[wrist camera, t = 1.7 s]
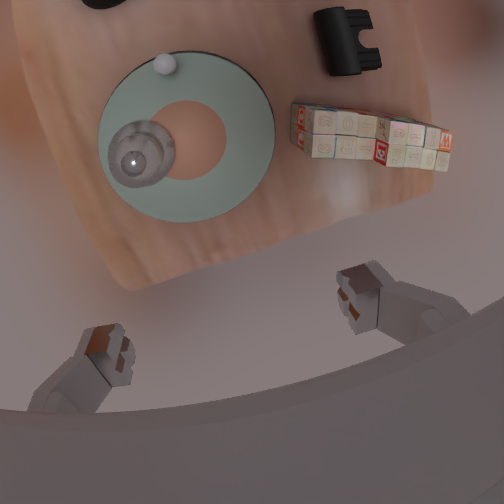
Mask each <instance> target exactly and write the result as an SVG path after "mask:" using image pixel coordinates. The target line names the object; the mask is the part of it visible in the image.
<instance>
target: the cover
mask: <svg viewBox="0 0 504 504" xmlns="http://www.w3.org/2000/svg"><path fill="white" fill-rule="evenodd" d="M174 156H175V147H174V143H173V140H172V138H171V136H170V134H169V133H168V131H167V130H166V129H165V128H164V127H162V126H161V125H159V124H157V123H155V122H152V121H148V120H139V121H134V122H131V123H129V124H127V125H125V126H124V127H122V128H121V129H120V130H118V131H117V132H116V134H115V135H114V136H113V138H112V140H111V142H110V144H109V148H108V162H109V168H110V172H111V174H112V176H113V177H114V179H115V180H116V181H117V182H118V183H119V184H121V185H123V186H125V187H128V188H141V187H148V186H151V185H154V184H156V183H158V182H159V181H161V180H162V179H163V178H164V177H165V176H166V175H167V174H168V172H169V171H170V169H171V167H172V164H173V161H174Z"/></svg>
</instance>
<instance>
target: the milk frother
mask: <svg viewBox="0 0 504 504" xmlns="http://www.w3.org/2000/svg"><path fill="white" fill-rule="evenodd" d="M82 1H83V3H84V4H85V5H87V6H88V7H91V8H94V9H107V8H111V7H114V6H116V5H118V4H120V3H122V2H124V1H125V0H82Z"/></svg>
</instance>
